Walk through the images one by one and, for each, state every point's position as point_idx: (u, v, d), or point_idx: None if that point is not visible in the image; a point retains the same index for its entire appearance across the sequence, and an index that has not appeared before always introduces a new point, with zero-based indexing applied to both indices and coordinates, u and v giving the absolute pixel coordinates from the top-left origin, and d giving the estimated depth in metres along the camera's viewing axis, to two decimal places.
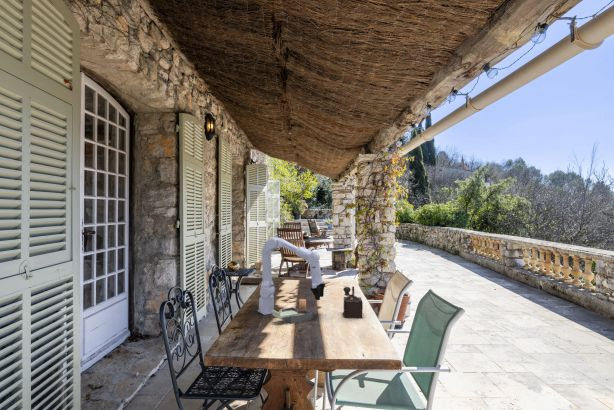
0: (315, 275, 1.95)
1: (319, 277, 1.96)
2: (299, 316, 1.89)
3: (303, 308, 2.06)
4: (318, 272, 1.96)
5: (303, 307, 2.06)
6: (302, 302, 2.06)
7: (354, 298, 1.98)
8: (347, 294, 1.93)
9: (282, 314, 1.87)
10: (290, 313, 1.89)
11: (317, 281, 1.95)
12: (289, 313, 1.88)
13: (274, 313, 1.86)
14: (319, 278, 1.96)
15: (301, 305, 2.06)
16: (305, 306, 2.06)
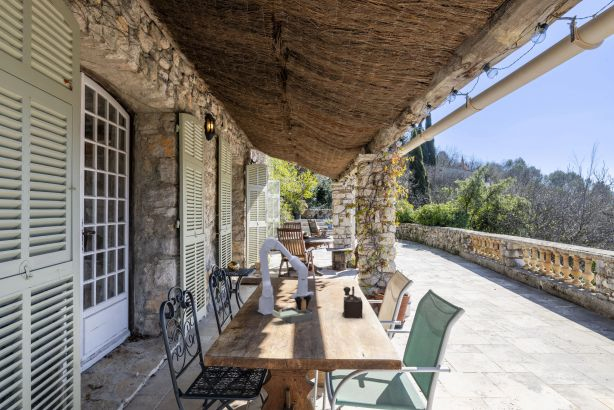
0: (299, 287, 2.06)
1: (302, 290, 2.05)
2: (299, 316, 1.89)
3: (303, 308, 2.06)
4: (306, 284, 2.06)
5: (303, 307, 2.06)
6: (302, 302, 2.06)
7: (354, 298, 1.98)
8: (347, 294, 1.93)
9: (282, 314, 1.87)
10: (290, 313, 1.89)
11: (299, 293, 2.05)
12: (289, 313, 1.88)
13: (274, 313, 1.86)
14: (302, 290, 2.05)
15: (301, 305, 2.06)
16: (305, 306, 2.06)
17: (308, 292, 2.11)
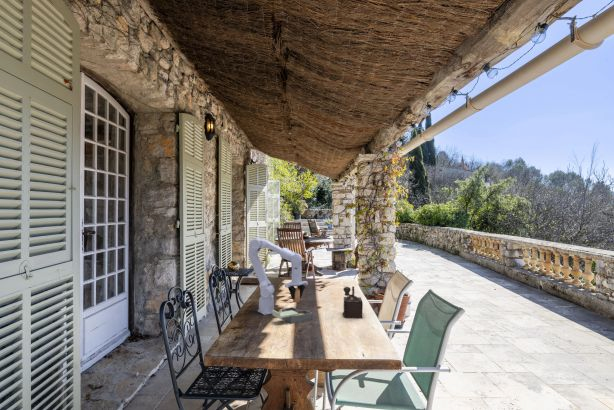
0: (292, 276, 2.02)
1: (296, 278, 2.01)
2: (299, 316, 1.89)
3: (297, 297, 2.02)
4: (299, 273, 2.02)
5: (296, 296, 2.02)
6: (296, 291, 2.02)
7: (354, 298, 1.98)
8: (347, 294, 1.93)
9: (282, 314, 1.87)
10: (290, 313, 1.89)
11: (293, 282, 2.01)
12: (289, 313, 1.88)
13: (274, 313, 1.86)
14: (295, 279, 2.01)
15: (295, 294, 2.02)
16: (299, 295, 2.02)
17: (302, 281, 2.07)
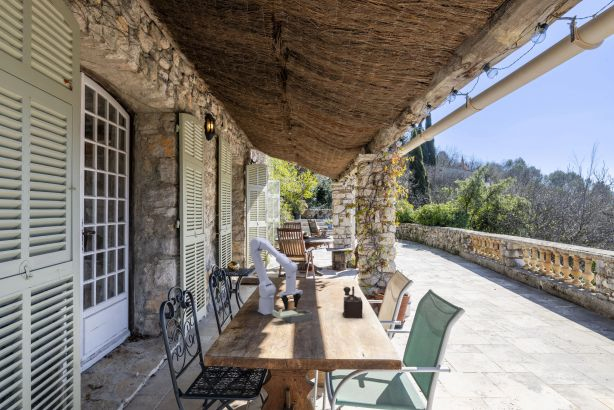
0: (286, 285, 1.98)
1: (290, 288, 1.97)
2: (299, 316, 1.89)
3: None
4: (292, 283, 1.97)
5: (291, 309, 1.98)
6: (290, 304, 1.98)
7: (354, 298, 1.98)
8: (347, 294, 1.93)
9: (282, 314, 1.87)
10: (290, 313, 1.89)
11: (287, 291, 1.97)
12: (289, 313, 1.88)
13: (274, 313, 1.86)
14: (290, 289, 1.97)
15: (289, 307, 1.98)
16: (293, 308, 1.98)
17: (296, 290, 2.03)
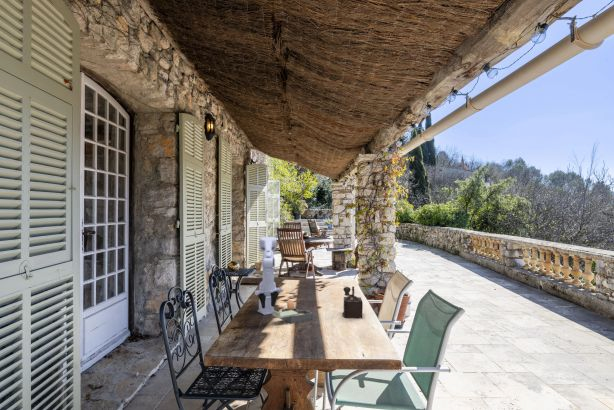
0: (263, 282, 1.81)
1: (267, 285, 1.80)
2: (299, 316, 1.89)
3: None
4: (264, 279, 1.81)
5: (291, 309, 1.98)
6: (290, 304, 1.98)
7: (354, 298, 1.98)
8: (347, 294, 1.93)
9: (282, 314, 1.87)
10: (290, 313, 1.89)
11: (264, 289, 1.81)
12: (289, 313, 1.88)
13: (274, 313, 1.86)
14: (267, 286, 1.80)
15: (289, 307, 1.98)
16: (293, 308, 1.98)
17: (275, 288, 1.86)
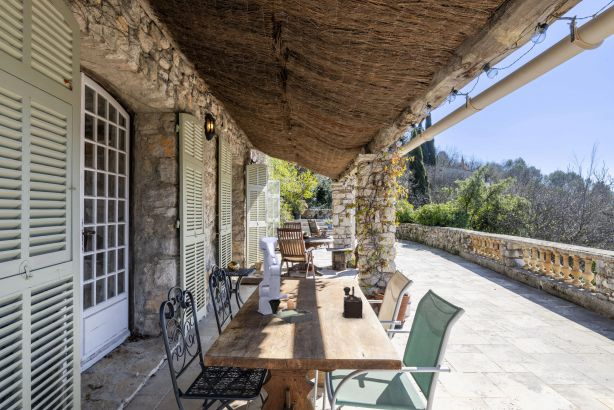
0: (270, 289, 1.83)
1: (273, 292, 1.82)
2: (299, 316, 1.89)
3: None
4: (271, 286, 1.82)
5: (291, 309, 1.98)
6: (290, 304, 1.98)
7: (354, 298, 1.98)
8: (347, 294, 1.93)
9: (282, 314, 1.87)
10: (291, 313, 1.89)
11: (270, 295, 1.83)
12: (289, 313, 1.88)
13: None
14: (273, 293, 1.82)
15: (289, 307, 1.98)
16: (293, 308, 1.98)
17: (281, 295, 1.88)
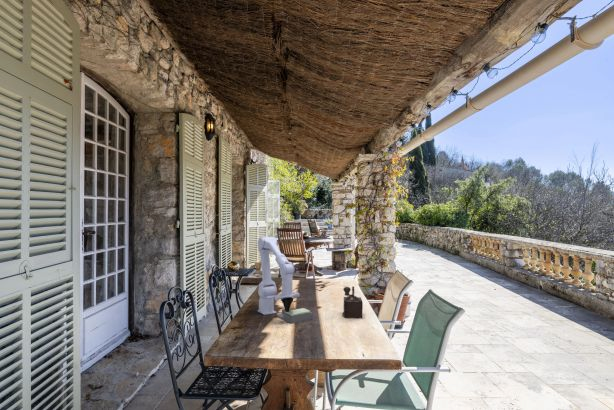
0: (283, 287, 1.87)
1: (286, 290, 1.86)
2: (299, 316, 1.89)
3: None
4: (286, 285, 1.86)
5: (291, 309, 1.98)
6: None
7: (354, 298, 1.98)
8: (347, 294, 1.93)
9: (294, 311, 1.91)
10: (303, 311, 1.93)
11: (283, 294, 1.87)
12: (301, 311, 1.93)
13: None
14: (286, 291, 1.86)
15: None
16: (293, 308, 1.98)
17: (293, 293, 1.92)
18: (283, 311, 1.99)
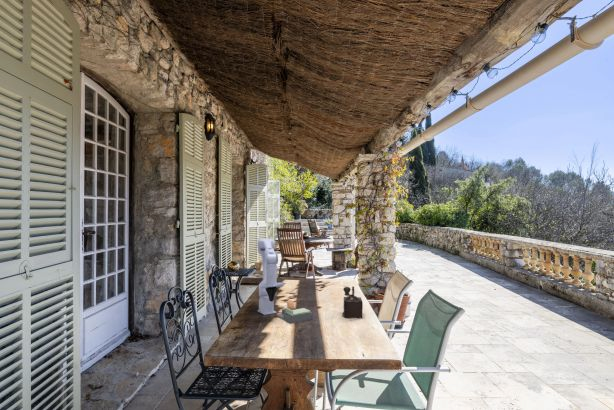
0: (267, 277, 1.90)
1: (270, 280, 1.89)
2: (299, 316, 1.89)
3: None
4: (268, 274, 1.89)
5: (291, 309, 1.98)
6: (290, 304, 1.98)
7: (354, 298, 1.98)
8: (347, 294, 1.93)
9: (295, 311, 1.91)
10: (303, 311, 1.93)
11: (267, 283, 1.89)
12: (301, 311, 1.93)
13: (287, 311, 1.91)
14: (270, 281, 1.89)
15: (289, 307, 1.98)
16: (293, 308, 1.98)
17: (278, 283, 1.95)
18: (283, 311, 1.99)
